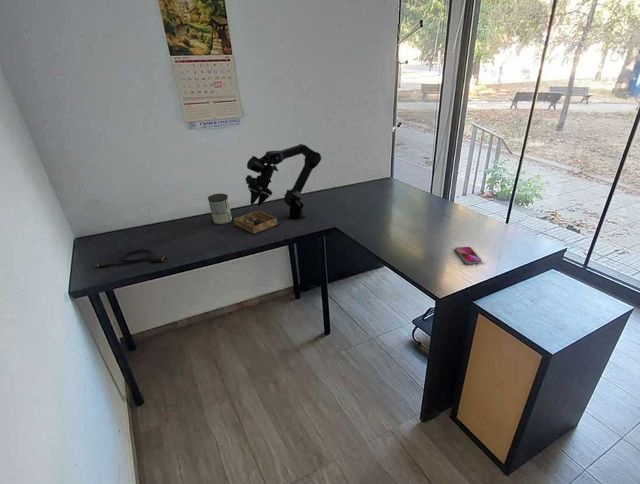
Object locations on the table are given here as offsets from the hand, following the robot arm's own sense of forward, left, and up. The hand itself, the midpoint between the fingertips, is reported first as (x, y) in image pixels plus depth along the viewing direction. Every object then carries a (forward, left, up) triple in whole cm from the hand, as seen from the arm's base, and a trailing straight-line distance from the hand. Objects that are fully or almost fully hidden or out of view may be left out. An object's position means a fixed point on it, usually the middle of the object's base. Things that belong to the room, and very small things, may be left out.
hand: (255, 205), depth 198 cm
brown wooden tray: (-2, -5, -13) cm, 14 cm away
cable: (+58, -17, -13) cm, 62 cm away
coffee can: (+7, -24, -13) cm, 29 cm away
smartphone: (-43, +100, -13) cm, 110 cm away
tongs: (-2, -5, -13) cm, 14 cm away
